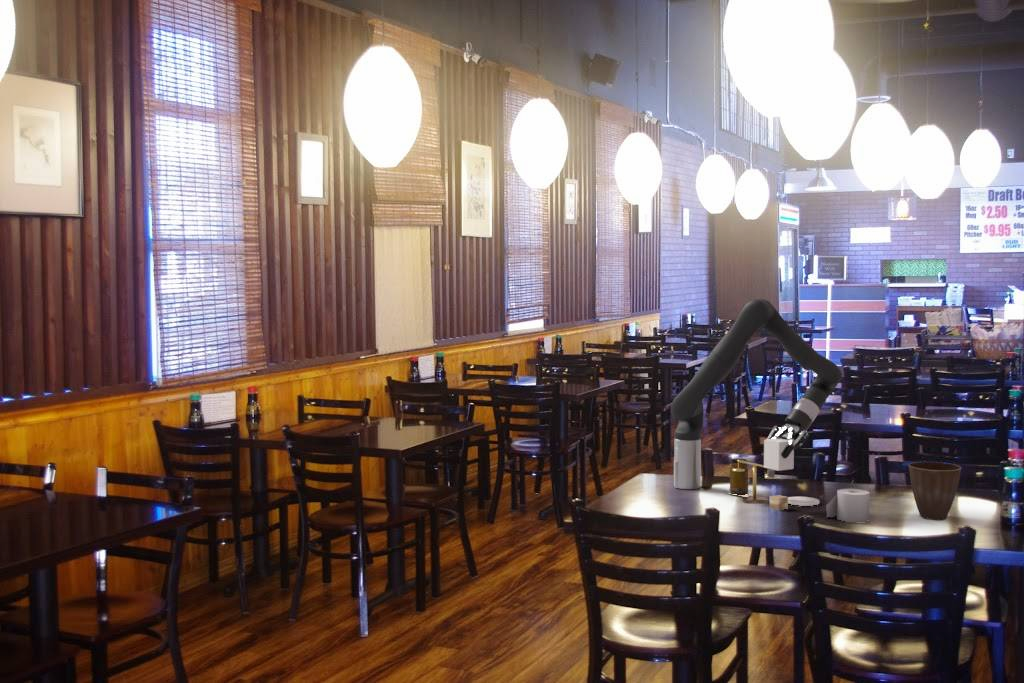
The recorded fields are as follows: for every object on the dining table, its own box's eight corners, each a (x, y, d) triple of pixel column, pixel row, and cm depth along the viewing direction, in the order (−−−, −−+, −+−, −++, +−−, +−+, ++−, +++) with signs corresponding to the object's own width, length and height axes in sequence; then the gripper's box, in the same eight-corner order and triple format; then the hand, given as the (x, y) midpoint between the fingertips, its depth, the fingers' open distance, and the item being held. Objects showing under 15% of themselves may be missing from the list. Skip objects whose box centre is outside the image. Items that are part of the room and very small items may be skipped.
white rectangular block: (778, 470, 326) (778, 442, 326) (763, 467, 332) (764, 439, 331) (793, 468, 330) (793, 440, 329) (778, 465, 335) (779, 437, 335)
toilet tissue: (819, 517, 319) (820, 489, 318) (860, 515, 321) (860, 488, 321) (833, 524, 310) (834, 495, 309) (875, 522, 312) (875, 493, 312)
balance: (733, 502, 341) (733, 461, 340) (731, 499, 346) (731, 458, 345) (778, 503, 340) (778, 461, 339) (775, 499, 345) (775, 458, 344)
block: (778, 511, 329) (778, 498, 328) (769, 508, 332) (769, 496, 332) (787, 509, 331) (787, 497, 330) (778, 507, 334) (778, 494, 334)
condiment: (737, 491, 360) (737, 457, 359) (757, 495, 353) (757, 460, 352) (724, 494, 355) (724, 459, 354) (744, 498, 348) (744, 462, 348)
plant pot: (968, 517, 317) (969, 465, 316) (947, 525, 307) (948, 472, 306) (920, 509, 328) (921, 459, 327) (899, 517, 318) (899, 465, 317)
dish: (787, 506, 334) (787, 502, 334) (781, 499, 345) (781, 495, 345) (822, 506, 334) (822, 502, 333) (815, 499, 344) (815, 495, 344)
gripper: (780, 405, 339) (753, 444, 334) (813, 410, 327) (785, 450, 322) (791, 420, 342) (764, 459, 337) (825, 425, 330) (797, 466, 325)
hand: (775, 454), depth 330 cm, fingers closed on white rectangular block, 6 cm apart
